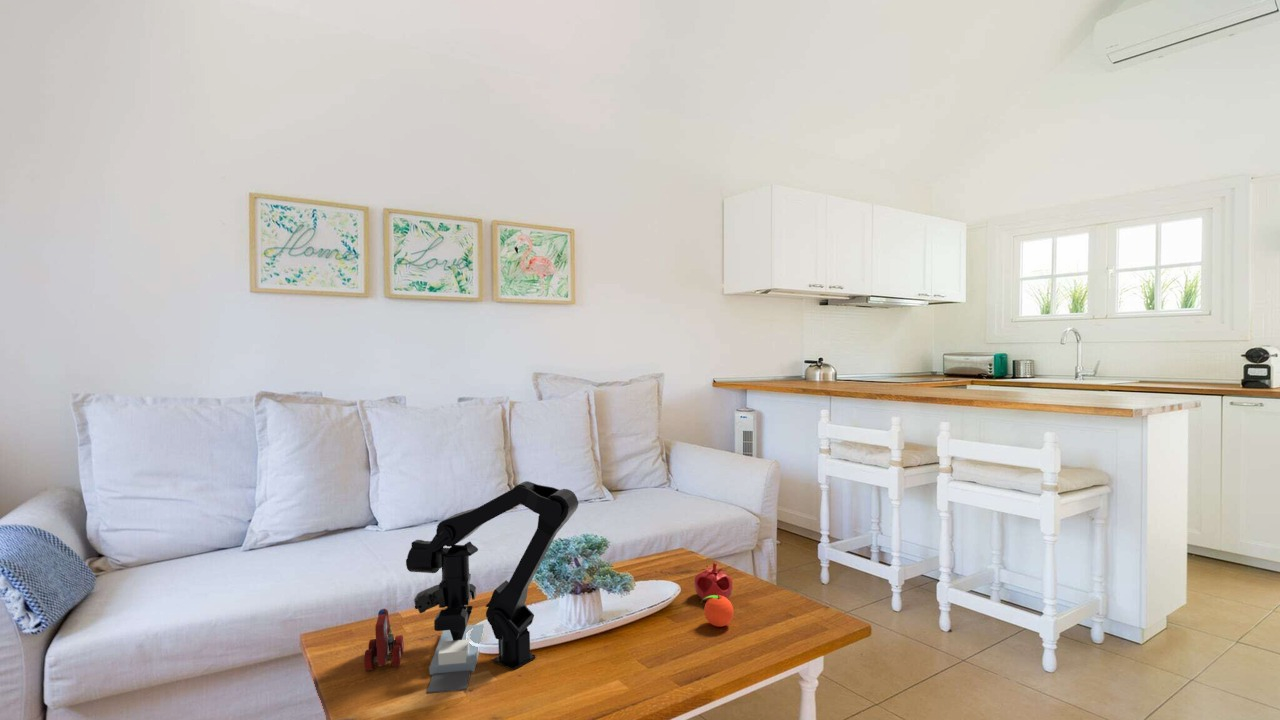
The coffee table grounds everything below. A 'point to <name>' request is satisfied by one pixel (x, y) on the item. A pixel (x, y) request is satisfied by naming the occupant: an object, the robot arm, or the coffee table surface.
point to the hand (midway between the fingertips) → (457, 645)
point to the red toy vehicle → (383, 644)
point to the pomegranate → (713, 583)
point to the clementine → (718, 610)
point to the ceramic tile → (453, 652)
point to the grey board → (472, 655)
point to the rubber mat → (449, 681)
